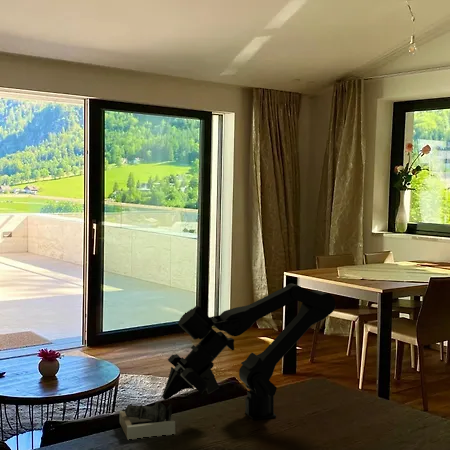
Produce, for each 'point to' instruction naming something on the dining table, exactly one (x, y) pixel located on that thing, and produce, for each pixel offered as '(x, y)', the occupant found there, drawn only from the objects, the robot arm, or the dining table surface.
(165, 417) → the salt shaker
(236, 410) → the dining table surface
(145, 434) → the white shallow tray
